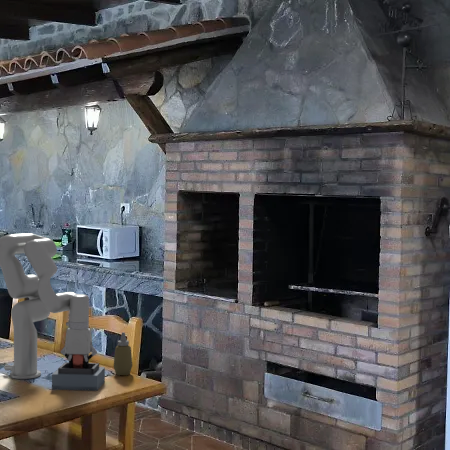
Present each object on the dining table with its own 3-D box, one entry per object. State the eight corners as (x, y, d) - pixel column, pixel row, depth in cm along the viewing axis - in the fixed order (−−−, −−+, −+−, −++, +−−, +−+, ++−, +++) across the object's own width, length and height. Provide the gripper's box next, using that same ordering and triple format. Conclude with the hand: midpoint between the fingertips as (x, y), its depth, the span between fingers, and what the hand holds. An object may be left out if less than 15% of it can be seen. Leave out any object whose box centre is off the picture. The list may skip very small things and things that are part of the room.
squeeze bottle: (128, 377, 297) (129, 335, 296) (110, 376, 299) (110, 333, 298) (135, 372, 305) (135, 331, 304) (117, 371, 307) (117, 330, 306)
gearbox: (51, 389, 278) (51, 369, 278) (61, 380, 291) (61, 361, 291) (97, 390, 277) (97, 370, 277) (104, 381, 290) (104, 362, 290)
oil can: (70, 377, 281) (71, 344, 281) (74, 374, 286) (74, 341, 286) (83, 377, 281) (83, 344, 280) (86, 374, 286) (86, 341, 285)
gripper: (55, 326, 280) (55, 372, 280) (97, 327, 279) (97, 373, 279) (60, 323, 287) (60, 367, 288) (102, 324, 286) (101, 368, 287)
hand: (78, 369), depth 284 cm, fingers closed on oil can, 4 cm apart
